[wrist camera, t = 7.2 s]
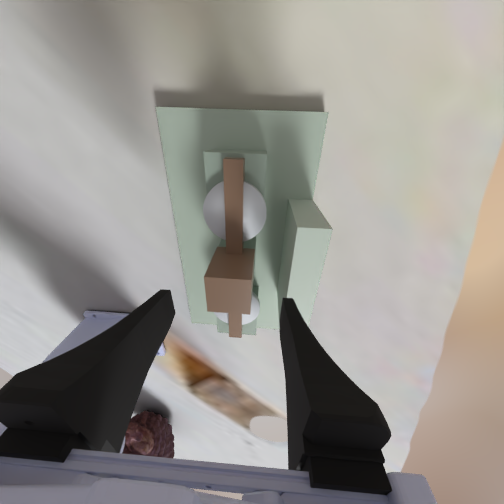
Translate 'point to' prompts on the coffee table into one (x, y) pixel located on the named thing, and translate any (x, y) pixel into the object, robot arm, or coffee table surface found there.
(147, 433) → the pine cone
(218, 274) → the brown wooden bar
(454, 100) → the coffee table surface
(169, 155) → the mint green baseplate
